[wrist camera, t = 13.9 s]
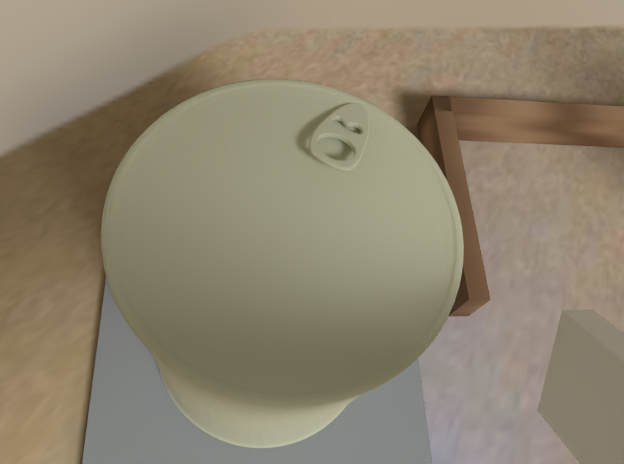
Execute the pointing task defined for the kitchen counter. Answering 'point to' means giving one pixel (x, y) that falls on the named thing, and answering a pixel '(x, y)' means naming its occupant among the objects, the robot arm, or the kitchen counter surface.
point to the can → (279, 254)
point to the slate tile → (221, 455)
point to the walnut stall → (503, 128)
